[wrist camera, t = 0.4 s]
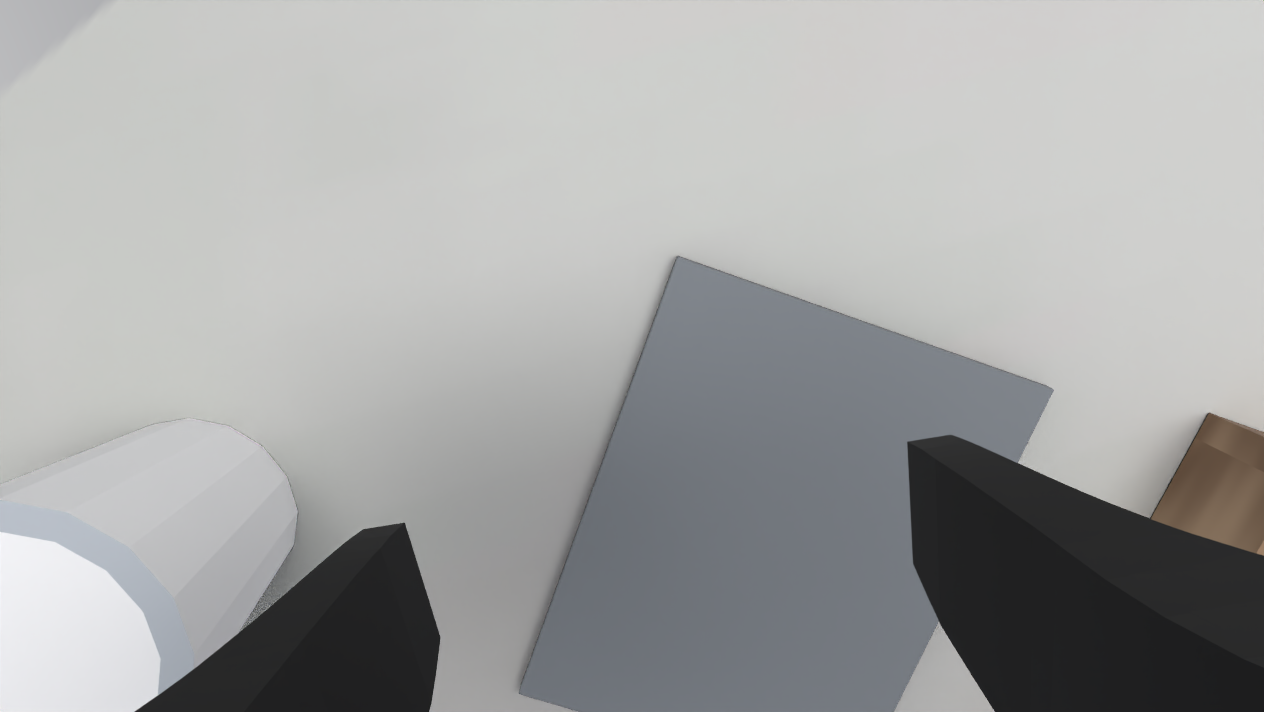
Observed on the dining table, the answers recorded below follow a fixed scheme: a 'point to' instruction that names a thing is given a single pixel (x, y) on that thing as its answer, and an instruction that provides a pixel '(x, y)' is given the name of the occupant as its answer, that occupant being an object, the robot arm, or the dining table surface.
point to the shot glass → (134, 564)
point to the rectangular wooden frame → (1219, 486)
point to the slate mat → (762, 510)
